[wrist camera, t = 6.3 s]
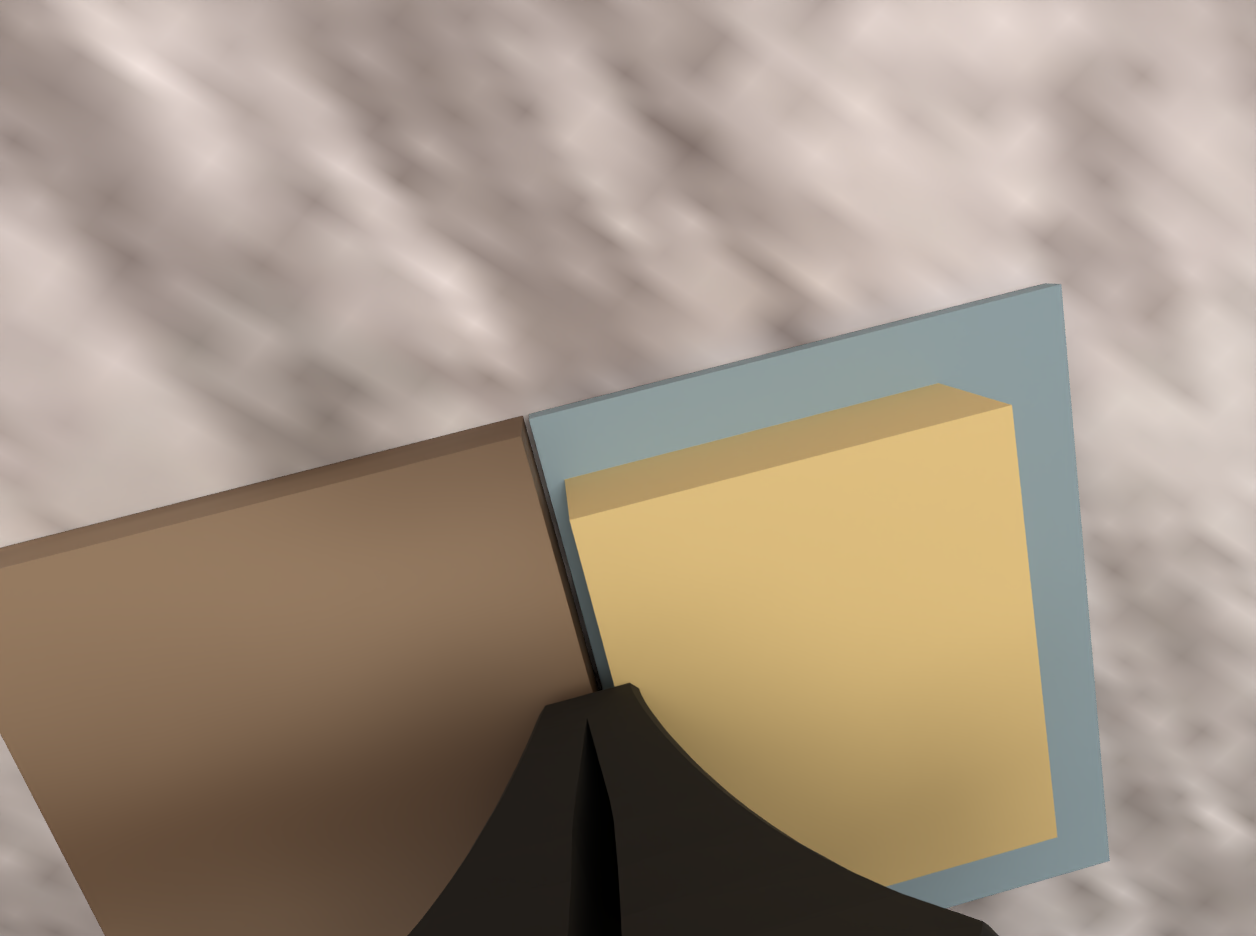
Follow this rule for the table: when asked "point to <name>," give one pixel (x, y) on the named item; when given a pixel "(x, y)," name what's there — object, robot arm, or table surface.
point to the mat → (871, 369)
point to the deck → (290, 687)
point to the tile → (838, 625)
